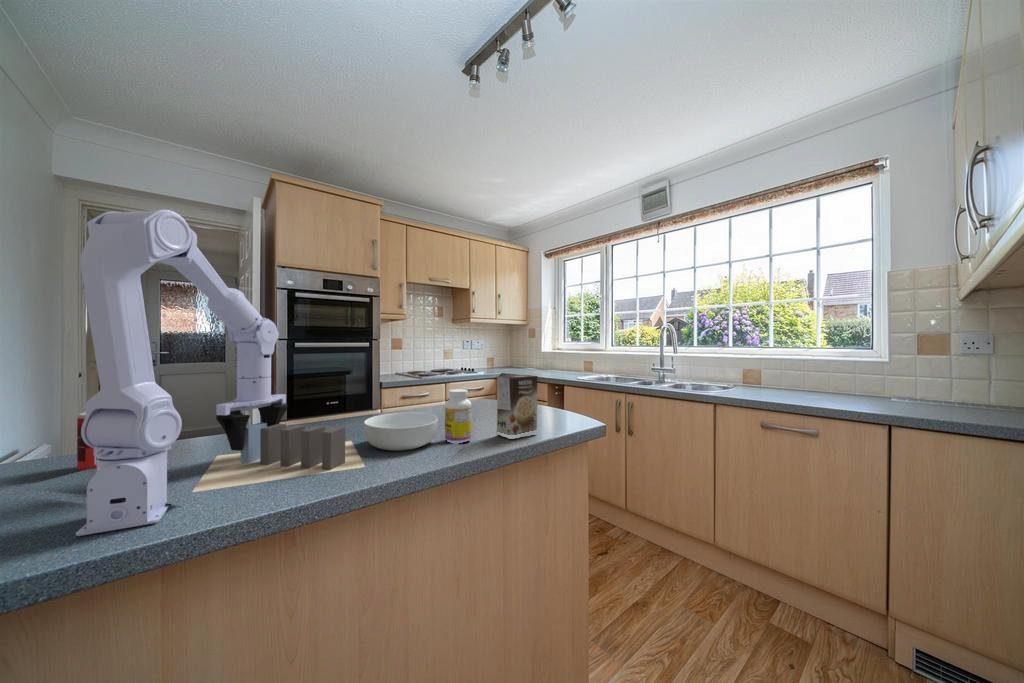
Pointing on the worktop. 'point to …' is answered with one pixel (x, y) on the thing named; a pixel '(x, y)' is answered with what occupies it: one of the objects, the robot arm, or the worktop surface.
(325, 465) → the tile
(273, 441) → the tile
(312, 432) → the tile
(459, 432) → the supplement bottle
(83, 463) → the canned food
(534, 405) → the dessert mix box
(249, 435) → the tile blue
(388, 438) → the cereal bowl
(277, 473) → the board
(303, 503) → the worktop surface
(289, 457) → the tile
